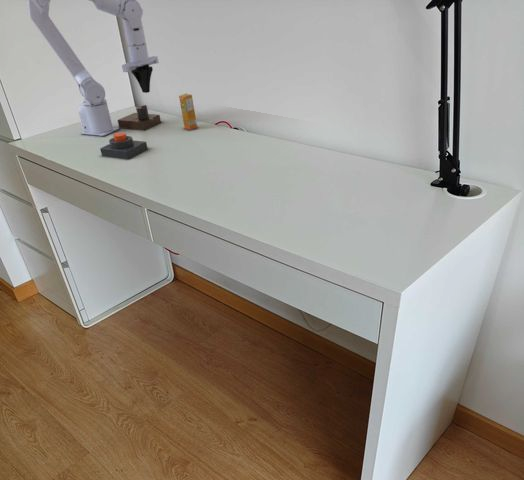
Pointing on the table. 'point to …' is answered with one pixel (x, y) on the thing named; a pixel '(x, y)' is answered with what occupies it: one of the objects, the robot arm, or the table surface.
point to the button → (120, 137)
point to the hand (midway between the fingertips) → (146, 92)
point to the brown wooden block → (138, 122)
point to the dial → (142, 112)
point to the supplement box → (188, 111)
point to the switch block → (123, 148)
